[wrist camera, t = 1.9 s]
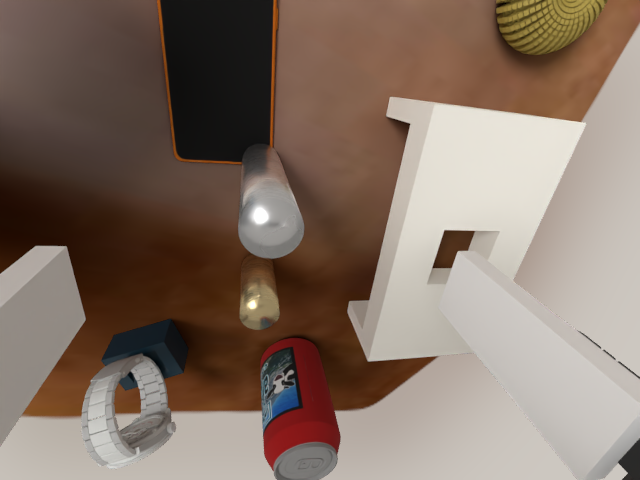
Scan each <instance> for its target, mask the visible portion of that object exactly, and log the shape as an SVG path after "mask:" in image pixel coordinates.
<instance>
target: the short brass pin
mask: <svg viewBox="0 0 640 480" xmlns="http://www.w3.org/2000/svg"><path fill="white" fill-rule="evenodd" d="M279 315H280V311H279V303H278V296H277V289H276V281H275V274H274V267H273V261H272V259H270V258H262V257H259V256H256V255H254V254H249V255H248V256H246V257H245V258H244V260H243V261H242V264H241V291H240V320H241V322H242V323H243V324H244V325H245V326H246V327H248V328H251V329H256V330H260V329H265V328H268V327H270V326H272V325H273V324H274V323H276V321H277V320H278V318H279Z"/></svg>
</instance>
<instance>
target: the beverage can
mask: <svg viewBox="0 0 640 480" xmlns="http://www.w3.org/2000/svg"><path fill="white" fill-rule="evenodd" d="M260 367H261V398H262V421H263V439H264V454H265V458H266V460H267V462H268V463H269V465H270V466H271V468H272V470H273V471H274V476H275V478H276V479H277V480H319V479H321V478H323V477H325V476H326V475H328V474H329V473H330V472H331V471H332V470H333V469H334V468H335V466H336V464H337V459H338V458H337V453H338V449H339V444H340V432H339V428H338V424H337V420H336V416H335V412H334V408H333V404H332V400H331V396H330V392H329V388H328V384H327V381H326V377H325V373H324V369H323V366H322V362H321V358H320V355H319V351H318V349H317V347H316V346H315V345H314V344H313V343H312V342H310V341H308V340H305V339H301V338H288V339H284V340H281V341H278V342H276V343H274V344H273V345H271V346H270V347H269V348H268V349H267V350H266V351H265V352H264V354H263V355H262V358H261V362H260Z"/></svg>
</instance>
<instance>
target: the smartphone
mask: <svg viewBox="0 0 640 480" xmlns="http://www.w3.org/2000/svg"><path fill="white" fill-rule="evenodd" d="M157 5H158V14H159V23H160V32H161V41H162V50H163V59H164V68H165V77H166V86H167V95H168V105H169V114H170V123H171V132H172V141H173V150H174V155H175V157H176V158H177V159H178V160H180V161H183V162H202V163H226V164H242V158H243V155H244V153H245V151H246V150H247V149H248V148H249V147H250V146H252V145H254V144H266V145H269V146H271V147H273V114H274V79H275V45H276V30H277V29H278V8H277V0H157Z"/></svg>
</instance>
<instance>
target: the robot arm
mask: <svg viewBox="0 0 640 480" xmlns="http://www.w3.org/2000/svg"><path fill="white" fill-rule="evenodd" d="M438 308H439V310H440V311H441V312H442V313H443V315H444V316H445V317H446V318H447V320H448V321H449V322H450V323H451V324H452V326H453V327H454V328H455V329H456V331H457V332H458V333H459V334H460V336H461V337H462V338H463V339H464V340H465V342H466V343H467V344H468V345H469V347H470V348H471V349H472V350H473V352H474V353H475V354H476V355H477V356H478V358H479V359H480V360H481V361H482V363H483V364H484V365H485V366H486V368H487V369H488V370H489V371H490V372H491V374H492V375H493V376H494V377H495V379H496V380H497V381H498V382H499V384H500V385H501V386H502V387H503V389H504V390H505V391H506V392H507V393H508V394H509V396H510V397H511V398H512V400H513V401H514V402H515V403H516V405H517V406H518V407H519V408H520V409H521V411H522V412H523V413H524V414H525V416H526V417H527V418H528V419H529V421H530V422H531V423H532V424H533V426H534V427H535V428H536V429H537V430H538V432H539V433H540V434H541V435H542V437H543V438H544V439H545V440H546V441H547V442H548V444H549V445H550V447H551V448H552V449H553V450H554V451H555V453H556V454H557V455H558V456H559V458H560V459H561V460H562V461H563V463H564V464H565V465H566V466H567V467H568V469H569V470H570V471H571V472H572V474H573V475H574V476H575V477H576V479H577V480H597V479H602V478H605V477H606V476H607V475H608V474H609V472H610V471H611V470H612V469H613V468H614V467H615V466H616V465H617V464H618V463H619V464H620V465H621V466H622V467H623V468H624V469H625V470H626V471H627V472H628V474H627V475H626V476H625V477H624V478H623V479H622V480H640V377H639V376H637V375H636V374H635V373H634V372H632V371H631V370H630V369H628V368H627V367H626V366H624V365H623V364H622V363H621V362H617V361H616V360H615V358H614V357H613V356H612V355H610V354H609V353H608V352H606V351H605V350H601V347H600V346H599V345H597V344H596V343H595V342H593V341H592V340H591V339H590V338H588V337H587V336H586V335H584V334H583V333H581V332H579V331H577V330H576V329H574V328H573V327H572V326H570V325H569V324H568V323H567V322H565V321H564V320H563V319H562V318H560V317H559V316H558V315H557V314H555V313H554V312H553V311H551V310H550V309H549V308H547V307H546V306H545V305H544V304H542V303H541V302H540V301H538V300H537V299H536V298H535V297H533V296H532V295H531V294H529V293H528V292H527V291H526V290H524V289H523V288H522V287H521V286H519V285H518V284H517V283H515V282H514V281H513V280H512V279H510V278H509V277H508V276H506V275H505V274H504V273H503V272H501V271H500V270H499V269H497V268H496V267H495V266H494V265H492V264H491V263H490V262H488V261H487V260H486V259H485V258H483V257H482V256H481V255H479V254H478V253H477V252H476V251H458V252H457V255H456V258H455V261H454V264H453V266H452V269H451V272H450V275H449V278H448V281H447V283H446V286H445V289H444V292H443V295H442V298H441V300H440V303H439V306H438ZM85 320H86V318H85V314H84V310H83V307H82V303H81V299H80V295H79V292H78V288H77V284H76V280H75V276H74V273H73V269H72V265H71V261H70V258H69V254H68V250H67V246H35V247H34V248H32V249H31V250H30V251H29V252H27V253H26V254H25V255H24V256H22V257H21V258H20V259H19V260H17V261H16V262H15V263H14V264H12V265H11V266H10V267H8V268H7V269H6V270H5V271H3V272H2V273H1V274H0V446H1V445H2V443H3V441H4V440H5V439H6V437H7V436H8V434H9V433H10V431H11V430H12V428H13V427H14V425H15V424H16V422H17V421H18V419H19V418H20V417H21V415H22V414H23V412H24V411H25V409H26V408H27V406H28V405H29V403H30V402H31V400H32V399H33V397H34V396H35V394H36V393H37V391H38V390H39V388H40V387H41V385H42V384H43V382H44V381H45V379H46V378H47V377H48V375H49V374H50V372H51V371H52V369H53V368H54V366H55V365H56V363H57V362H58V360H59V359H60V357H61V356H62V354H63V353H64V351H65V350H66V348H67V347H68V345H69V344H70V342H71V341H72V340H73V338H74V337H75V335H76V334H77V332H78V331H79V329H80V328H81V326H82V325H83V323H84V322H85Z"/></svg>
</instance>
